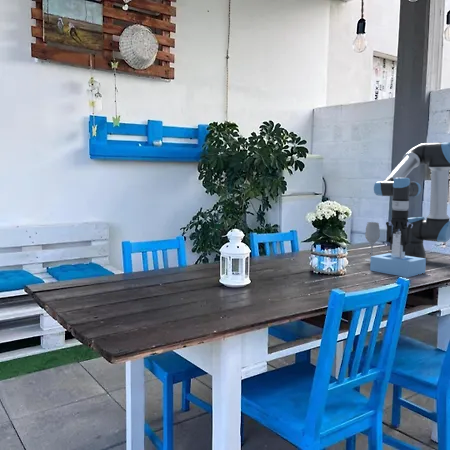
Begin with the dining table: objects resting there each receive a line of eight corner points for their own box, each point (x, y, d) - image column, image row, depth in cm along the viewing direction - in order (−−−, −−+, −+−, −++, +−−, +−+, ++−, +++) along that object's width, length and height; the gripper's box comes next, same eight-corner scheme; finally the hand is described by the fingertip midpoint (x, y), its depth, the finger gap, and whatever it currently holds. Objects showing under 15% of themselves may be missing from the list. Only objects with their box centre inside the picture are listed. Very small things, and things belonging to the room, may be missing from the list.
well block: (388, 266, 242) (388, 253, 242) (425, 272, 227) (426, 258, 226) (370, 270, 232) (370, 256, 231) (407, 277, 217) (408, 262, 216)
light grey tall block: (396, 257, 232) (397, 231, 230) (403, 258, 229) (405, 231, 227) (392, 257, 229) (393, 231, 228) (399, 259, 226) (400, 232, 225)
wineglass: (380, 261, 255) (382, 223, 253) (366, 261, 255) (367, 223, 253) (376, 259, 263) (377, 222, 260) (362, 259, 263) (364, 222, 261)
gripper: (380, 209, 231) (378, 256, 233) (412, 211, 217) (410, 260, 220) (388, 208, 235) (386, 254, 238) (421, 210, 222) (418, 259, 225)
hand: (397, 257), depth 229 cm, fingers closed on light grey tall block, 4 cm apart
